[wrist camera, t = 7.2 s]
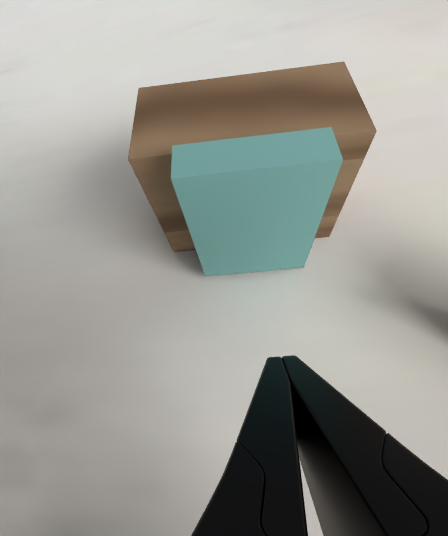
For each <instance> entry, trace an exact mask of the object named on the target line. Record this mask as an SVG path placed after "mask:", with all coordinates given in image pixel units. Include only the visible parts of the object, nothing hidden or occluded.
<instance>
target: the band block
mask: <svg viewBox="0 0 448 536" xmlns="http://www.w3.org/2000/svg"><path fill="white" fill-rule="evenodd" d="M327 127H332V130H333V133H334V136H335V138H336V141H337V144H338V147H339V149H340V152H341V155H342V158H343V161H342V164H341V167H340V170H339V172H338V175H337V178H336V180H335V183H334V186H333V189H332V191H331V194H330V197H329V200H328V202H327V205H326V208H325V211H324V213H323V216H322V219H321V221H320V224H319V227H318V230H317V232H316V235H315V238H320V237H329V236H330V234H331V231H332V229H333V227H334V225H335V222H336V220H337V218H338V216H339V214H340V211H341V209H342V207H343V205H344V202H345V200H346V198H347V196H348V193H349V191H350V189H351V187H352V185H353V182H354V180H355V178H356V176H357V173H358V171H359V169H360V167H361V164H362V162H363V160H364V158H365V156H366V153H367V151H368V149H369V147H370V144H371V142H372V140H373V138H374V136H375V133H376V128H375V126H374V124H373V122H372V120H371V118H370V116H369V114H368V111H367V109H366V107H365V105H364V103H363V101H362V99H361V97H360V94H359V92H358V90H357V88H356V86H355V84H354V82H353V80H352V77H351V75H350V73H349V71H348V69H347V67H346V65H345V63H344V62H338V63H330V64H322V65H314V66H306V67H299V68H291V69H283V70H275V71H268V72H260V73H252V74H244V75H237V76H229V77H221V78H213V79H206V80H198V81H190V82H182V83H175V84H167V85H159V86H151V87H144V88H139V90H138V96H137V103H136V110H135V117H134V123H133V130H132V137H131V144H130V150H129V157H128V160H129V162H130V164H131V166H132V168H133V170H134V172H135V174H136V176H137V178H138V180H139V182H140V184H141V186H142V188H143V190H144V192H145V194H146V196H147V198H148V200H149V202H150V204H151V206H152V208H153V210H154V212H155V214H156V216H157V218H158V220H159V222H160V224H161V226H162V228H163V230H164V232H165V234H166V237H167V239H168V241H169V243H170V245H171V247H172V249H173V251H183V250H194V249H195V246H194V243H193V240H192V237H191V234H190V232H189V229H188V226H187V223H186V220H185V217H184V215H183V212H182V209H181V206H180V203H179V200H178V198H177V195H176V192H175V189H174V186H173V183H172V181H171V163H172V145H181V144H190V143H198V142H207V141H215V140H224V139H232V138H241V137H250V136H258V135H267V134H275V133H284V132H293V131H301V130H310V129H318V128H327Z"/></svg>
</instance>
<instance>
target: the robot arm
mask: <svg viewBox="0 0 448 536" xmlns="http://www.w3.org/2000/svg"><path fill="white" fill-rule="evenodd" d="M299 458H300V461H301V465H302V468H303V471H304V474H305V477H306V481H307V484H308V487H309V490H310V493H311V497H312V500H313V503H314V506H315V510H316V513H317V516H318V519H319V522H320V526H321V529H322V532H323V535H324V536H448V480H447V479H446V478H445V477H443V476H442V475H441V474H439V473H438V472H437V471H435V470H434V469H432V468H431V467H430V466H428V465H427V464H426V463H425V462H423V461H422V460H421V459H420V458H418V457H417V456H416V455H415V454H413V453H412V452H411V451H410V450H408V449H407V448H406V447H405V446H403V445H402V444H401V443H400V442H398V441H397V440H396V439H395V438H394V437H392V436H391V435H390V434H389V433H387V434H386V431H385V430H384V429H383V428H382V427H380V426H379V425H378V424H377V423H376V422H374V421H373V420H372V419H371V418H370V417H368V416H367V415H366V414H365V413H364V412H362V411H361V410H360V409H359V408H358V407H356V406H355V405H354V404H353V403H352V402H350V401H349V400H348V399H347V398H346V397H344V396H343V395H342V394H341V393H340V392H338V391H337V390H336V389H335V388H334V387H332V386H331V385H330V384H329V383H328V382H326V381H325V380H324V379H323V378H322V377H321V376H319V375H318V374H317V373H316V372H315V371H313V370H312V369H311V368H310V367H309V366H307V365H306V364H305V363H304V362H303V361H301V360H300V359H299V358H298V357H297V356H294V355H293V356H283V357H282V358H281V357H269V358H267V360H266V363H265V366H264V368H263V371H262V374H261V377H260V379H259V382H258V385H257V387H256V390H255V393H254V395H253V398H252V401H251V403H250V406H249V409H248V411H247V414H246V417H245V419H244V422H243V425H242V427H241V430H240V433H239V435H238V438H237V442H236V443H235V446H234V448H233V451H232V454H231V456H230V459H229V461H228V463H227V466H226V468H225V471H224V473H223V475H222V477H221V479H220V482H219V484H218V486H217V488H216V490H215V492H214V494H213V496H212V498H211V500H210V501H209V503H208V505H207V507H206V509H205V511H204V513H203V515H202V516H201V518H200V520H199V522H198V524H197V526H196V528H195V530H194V531H193V533H192V535H191V536H308V532H307V523H306V514H305V506H304V497H303V488H302V479H301V470H300V461H299Z"/></svg>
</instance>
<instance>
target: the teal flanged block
mask: <svg viewBox="0 0 448 536" xmlns="http://www.w3.org/2000/svg"><path fill="white" fill-rule="evenodd" d="M342 161H343V158H342V155H341V152H340V149H339V147H338V144H337V141H336V138H335V136H334V133H333V130H332V127H327V128H318V129H310V130H301V131H293V132H284V133H275V134H267V135H258V136H250V137H241V138H232V139H224V140H215V141H207V142H198V143H190V144H181V145H172V163H171V181H172V183H173V186H174V189H175V192H176V195H177V198H178V200H179V203H180V206H181V209H182V212H183V215H184V217H185V220H186V223H187V226H188V229H189V232H190V234H191V237H192V240H193V243H194V246H195V249H196V251H197V254H198V257H199V260H200V263H201V266H202V268H203V271H204V274H205V276H216V275H227V274H238V273H249V272H260V271H272V270H283V269H294V268H304V265H305V262H306V260H307V257H308V254H309V252H310V249H311V246H312V243H313V241H314V238H315V235H316V232H317V230H318V227H319V224H320V221H321V219H322V216H323V213H324V211H325V208H326V205H327V202H328V200H329V197H330V194H331V191H332V189H333V186H334V183H335V180H336V178H337V175H338V172H339V170H340V167H341V164H342Z"/></svg>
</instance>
